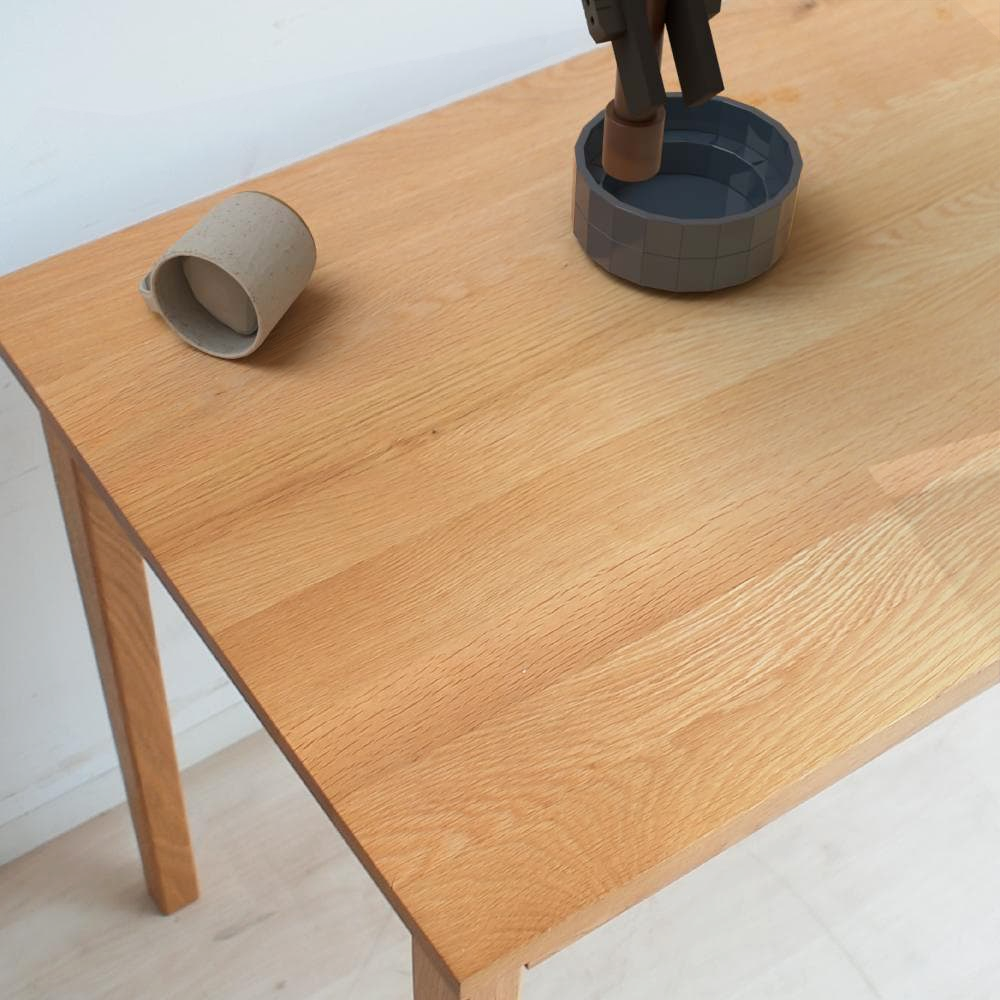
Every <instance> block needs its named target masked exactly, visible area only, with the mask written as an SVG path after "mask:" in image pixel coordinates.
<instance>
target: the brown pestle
mask: <svg viewBox="0 0 1000 1000" xmlns="http://www.w3.org/2000/svg"><path fill="white" fill-rule="evenodd" d="M643 1H644V5H645V9H646V13H647V18H648V22H649V26H650V30H651V34H652V38H653V42H654V47H655V51H656V55H657V59H658V63H659V67H660V72H662V60H663V49H664V39H665V29H666V25H665V18H666V7H667V0H643ZM604 109H605V122H604V138H603V155H602V166H603V168H604V170H605V171H606V172H607V173H608V174H609V175H610V176H612V177H614V178H616V179H619V180H623V181H631V182H634V181H643V180H646V179H649V178H651V177H653V176H654V175H655V174H656V173H657V172H658V171H659V169H660V165H661V155H662V144H663V134H664V123H665V109H664V107H663V106H661V107H660V108H658V109H657V110H656V111H654V112H653V113H651V114H650V115H648V116H647V117H644V118H639V119H634V120H630V117H629V113H628V109H627V105H626V100H625V96H624V92H623V88H622V84H621V80H620V76H619V72H618V68H617V67H616V71H615V87H614V98H612V99H611V100H610V101H609V102H608V103H607V104H606V106H605V108H604Z"/></svg>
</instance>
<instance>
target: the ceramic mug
mask: <svg viewBox="0 0 1000 1000" xmlns="http://www.w3.org/2000/svg"><path fill="white" fill-rule="evenodd" d="M317 254H318V253H317V246H316V242H315V238H314V236H313V234H312V232H311V230H310V227H309V226H308V225H307V222H305V220H304V218H303V217H302V216H301V215H300V214H299V213H298V212H297V211H296V210H295V209H294V208H292V206H290V205H289V204H288V203H286V202H285V201H284V200H283V199H280V198H278V197H276V196H274V195H272V194H270V193H266V192H263V191H258V190H244V191H240V192H236V193H234V194H231V195H229V196H227V197H226V198H224V199H223V200H221V201H219V202H218V203H217V204H216V205H214V206H212V207H211V209H209V210H208V211H207V212H206V213H205V214H204V215H203V217H201V218H200V220H199V221H198V222H197V223H195V224H194V226H191V228H190V229H189V230H188V231H186V232H185V233H184V234H183V235H182V236H181V237H180V238H179V239H178V240H176V241H175V242H174V243H173V244H172V245H171V246H170V247H168V248H167V249H166V250H165V251H164V252H163V253H162V254H161V255H160V256H159V257H158V259H157V260H156V261H155V262H154V264H153V267H152V268H151V269H150V270H149V271H147V273H145V275H144V276H143V278H142V279H141V280H140V281H139V284H138V292H139V294H140V295H141V297H142V299H143V300H144V302H145V304H146V307H147V308H148V309H149V310H150V311H151V312H152V313H154V314H160V316H161V318H163V320H164V322H165V323H166V324H167V325H168V326H169V328H170V329H172V331H173V332H174V333H175V334H176V335H177V336H178V337H180V338H181V339H182V340H183V341H185V343H187V344H188V345H190V346H192V347H193V348H195V349H197V350H199V351H201V352H202V353H205V354H208V355H211V356H212V357H213V356H214V357H217V358H222V359H225V360H226V359H227V360H229V359H230V360H231V359H239V358H245V357H248V356H249V355H251V354H252V353H253V352H255V351H256V350H257V349H258V348H260V346H261V345H262V344H263V343H264V341H265V340H266V338H267V337H268V336H269V335H270V333H271V332H272V330H273V329H274V328H275V326H276V325H277V324H278V323H279V321H280V320H281V319H282V317H283V316H284V315H285V314H286V312H287V311H288V310H289V308H290V307H291V306H292V304H293V303H295V301H296V300H297V299H298V297H299V296H300V295H301V294H302V292H304V290H305V288H306V287H307V285H308V283H309V281H310V279H311V277H312V275H313V272H314V270H315V268H316V264H317V259H318V258H317Z"/></svg>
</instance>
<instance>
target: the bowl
mask: <svg viewBox="0 0 1000 1000" xmlns="http://www.w3.org/2000/svg"><path fill="white" fill-rule="evenodd" d="M665 92H666V96H667V101H668V102H667V103H666V104H664V105H663V107H664V109H665V123H664V134H663V144H662V155H661V165H660V169H659V171H658V172H657V173H656V174H655V175H654V176H653V177H651V178H649V179H646V180H643V181H634V182H631V181H623V180H619V179H616V178H614V177H612V176H610V175H609V174H608V173H607V172H606V171H605V170H604V168H603V166H602V155H603V138H604V122H605V108H603V109H601V110H600V111H599V112H598V113H597V114H596V115H595V116H593V118H591V119H590V120H589V121H588V122H587V123H586V124H584V126H582V128H581V131H580V133H579V135H578V137H577V140H576V142H575V145H574V146H573V167H572V185H571V187H572V188H571V210H570V213H571V214H570V215H571V224H572V233H573V235H574V237H575V239H576V240H577V241H578V243H579V245H580V246H581V247H582V249H583V251H584V253H585V254H586V255H587V256H588V257H589V258H590V259H591V260H593V261H594V262H595V263H597V264H598V265H599V266H601V267H602V268H603V269H604V270H606V271H607V272H608V273H610V274H612V275H615V276H617V277H620V278H622V279H624V280H627V281H629V282H632V283H634V284H636V285H639V286H640V287H641V286H642V287H647V288H651V289H652V288H653V289H658V290H664V291H668V292H673V293H675V292H676V293H680V292H681V293H685V292H686V293H687V292H689V293H690V292H713V291H717V290H721V289H726V288H729V287H734V286H738V285H742V284H745V283H747V282H749V281H751V280H752V279H755V278H757V277H758V276H760V275H761V274H763V273H766V272H767V271H769V270H770V269H771V268H772V266H774V264H775V263H776V262H777V261H778V260H779V259H780V257H781V256H783V254H784V253H785V252H786V249H788V244H789V239H790V235H791V231H792V225H793V222H794V216H795V210H796V205H797V200H798V194H799V190H800V189H799V188H800V184H801V178H802V172H803V167H804V162H803V157H802V154H801V151H800V148H799V143H798V141H797V140H796V139H795V137H794V136H792V134H791V133H790V132H789V131H788V129H787V128H786V127H785V126H784V125H783V124H782V122H780V121H778V120H776V119H775V118H773V117H772V116H770V115H769V114H768V113H765V112H764V111H762V110H760V108H757V107H755V106H753V105H750V104H747V103H744V102H742V101H739V100H735V99H733V98H730V97H727V96H723V95H718V94H717V95H716V96H714V97H712V98H711V99H709V100H708V101H706V102H705V103H703V104H701V105H698V106H693V107H689V108H685V104H684V100H683V96H682V91H665Z"/></svg>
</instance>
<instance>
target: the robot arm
mask: <svg viewBox="0 0 1000 1000" xmlns="http://www.w3.org/2000/svg"><path fill="white" fill-rule="evenodd" d="M580 1H581V5H582V9H583V14H584V18H585V20H586V21H585V22H586V26H587V29H588V34H589V35H590V37H591V38H592V40H593V41H594V43H595V44H596V45H600V44H604V43H611V46H612V47H611V48H612V51H613V55H614V58H615V64H616V69H617V68H618V72H619V76H620V80H621V84H622V88H623V92H624V96H625V100H626V105H627V109H628V113H629V117H630V120H634V119H639V118H644V117H647V116H648V115H650V114H651V113H653V112H654V111H656V110H657V109H658V108H660V107H661V106H663V105H664V104H666V103H667V102H668V101H667V96H666V92H667V91H666V88H665V84H664V80H663V76H662V73H661V72H662V71H661V72H660V67H659V63H658V59H657V55H656V51H655V47H654V42H653V38H652V34H651V30H650V26H649V22H648V18H647V13H646V9H645V5H644V1H643V0H580ZM721 7H722V0H667V7H666V18H665V29H666V33H667V37H668V42H669V46H670V50H671V54H672V58H673V62H674V65H675V66H674V67H675V70H676V74H677V78H678V84H679V87H680V92H682V96H683V100H684V104H685V108H689V107H693V106H698V105H701V104H703V103H705V102H706V101H708V100H709V99H711V98H712V97H714V96H716V95H717V96H718V95H719V94H720V93H722V92H723V91H725V89H726V88H725V84H724V79H723V75H722V71H721V68H720V64H719V59H718V55H717V50H716V47H715V41H714V38H713V34H712V29H711V26H710V21H711V20H712V19H713V18H714V17H715V16H717V15H719V14H720V13H721Z"/></svg>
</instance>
